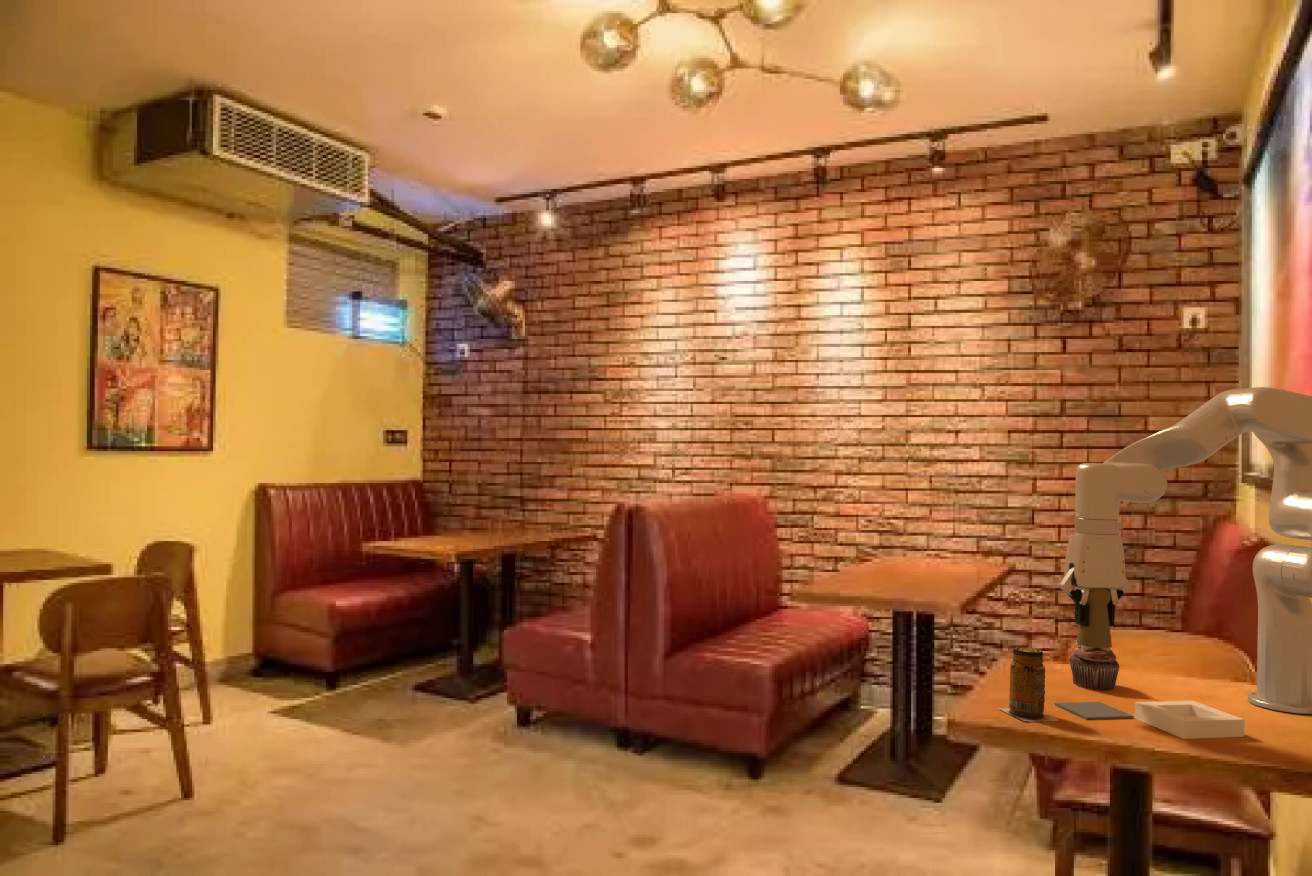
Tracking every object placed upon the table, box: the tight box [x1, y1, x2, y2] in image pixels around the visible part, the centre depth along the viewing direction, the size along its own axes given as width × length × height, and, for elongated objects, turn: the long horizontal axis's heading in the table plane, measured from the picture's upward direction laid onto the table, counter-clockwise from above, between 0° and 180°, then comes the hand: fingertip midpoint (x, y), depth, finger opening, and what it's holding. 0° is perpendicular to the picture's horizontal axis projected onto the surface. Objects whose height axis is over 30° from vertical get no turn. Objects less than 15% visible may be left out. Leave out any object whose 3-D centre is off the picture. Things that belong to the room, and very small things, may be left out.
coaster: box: [1054, 701, 1134, 721], centre depth 174 cm, size 10×10×1 cm
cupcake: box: [1068, 641, 1120, 692], centre depth 194 cm, size 10×10×10 cm
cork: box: [1076, 589, 1113, 649], centre depth 174 cm, size 6×6×11 cm
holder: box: [1134, 700, 1245, 740], centre depth 165 cm, size 12×12×3 cm
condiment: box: [998, 646, 1061, 723], centre depth 170 cm, size 7×8×12 cm
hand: (1094, 623), depth 174 cm, fingers closed on cork, 4 cm apart
